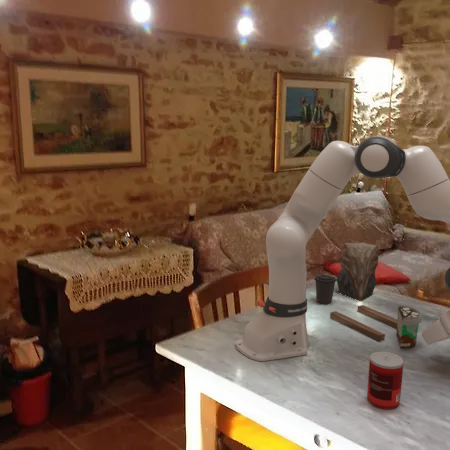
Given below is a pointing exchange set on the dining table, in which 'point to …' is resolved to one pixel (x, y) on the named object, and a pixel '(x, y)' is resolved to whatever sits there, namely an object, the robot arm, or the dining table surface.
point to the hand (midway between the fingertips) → (435, 339)
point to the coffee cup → (324, 288)
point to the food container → (407, 326)
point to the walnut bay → (362, 327)
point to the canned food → (385, 379)
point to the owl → (358, 270)
